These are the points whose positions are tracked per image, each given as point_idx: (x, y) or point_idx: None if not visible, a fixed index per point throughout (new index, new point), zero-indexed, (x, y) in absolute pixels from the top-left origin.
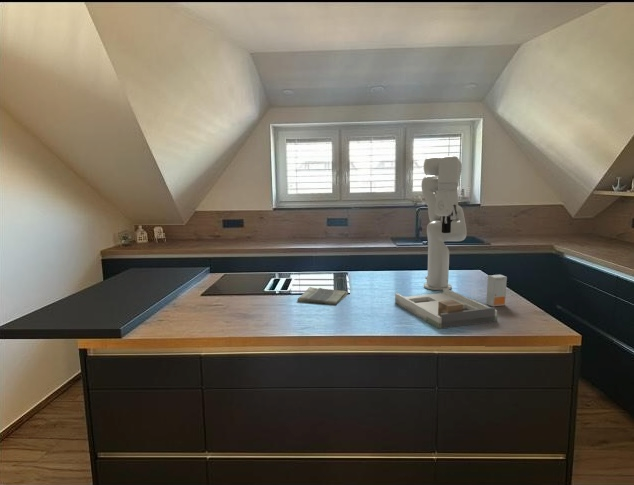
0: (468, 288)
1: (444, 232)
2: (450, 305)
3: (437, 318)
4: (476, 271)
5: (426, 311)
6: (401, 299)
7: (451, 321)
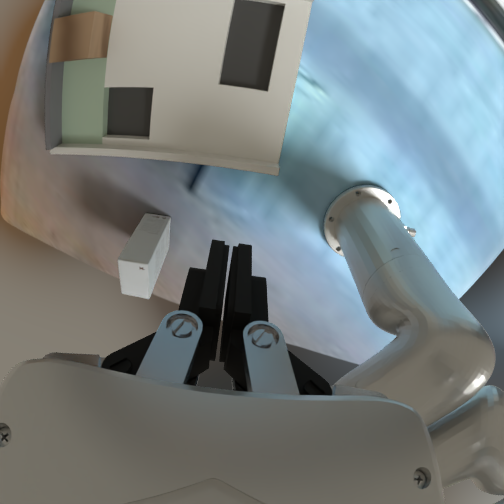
0: (302, 278)
1: (211, 246)
2: (55, 26)
3: None
4: None
5: None
6: None
7: None
